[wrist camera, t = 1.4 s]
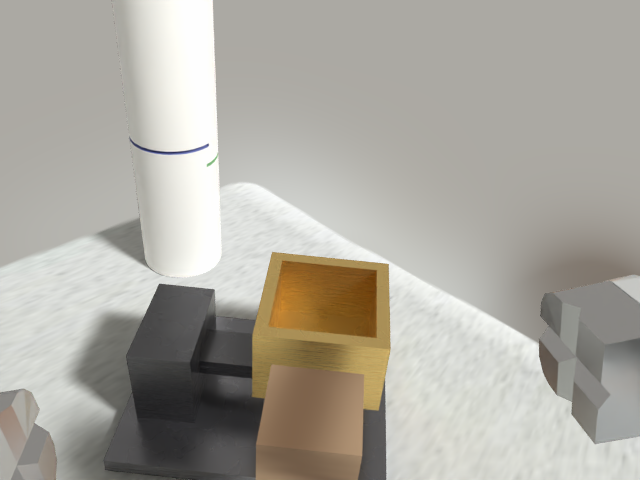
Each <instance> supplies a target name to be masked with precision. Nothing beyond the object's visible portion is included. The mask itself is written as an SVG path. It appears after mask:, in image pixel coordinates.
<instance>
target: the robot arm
mask: <svg viewBox="0 0 640 480" xmlns="http://www.w3.org/2000/svg"><path fill="white" fill-rule="evenodd" d="M540 316H541V317H542V319H543V320H544V321H545V322H546V323H547V324H548V325H549V326H548V328H547V329H546V330H545V332H544V333H543V335H542V336H541V337H540V339H539V357H540V362H541V366H542V370H543V373H544V375H545V377H546V379H547V381H548V383H549V385H550V386H551V388H552V389H553V391H554V392H555V393H556V395H558V396H560V397H562V398H565V399H567V400H569V401H571V402H572V413H571V414H572V415H573V417H574V418H575V419H576V421H577V422H578V423H579V424H580V426H581V427H582V428H583V430H584V431H585V432H586V433H587V435H588V436H589V437H590V438H591V440H592V441H593V442H594V444H599V443H605V442H610V441H616V440H622V439H627V438H633V437H639V436H640V276H636V275H630V276H625V277H621V278H616V279H612V280H608V281H604V282H600V283H596V284H591V285H586V286H581V287H576V288H571V289H566V290H561V291H556V292H551V293H546V294H544V297H543V299H542V302H541V314H540ZM38 412H39V407H38V405H37V403H36V401H35V399H34V397H33V395H32V393H31V392H29V391H27V390H25V389H19V390H13V391H7V392H1V393H0V480H56V466H57V458H56V453H55V448H54V444H53V441H52V439H51V436H50V434H49V432H48V431H46V430H45V429H43V428H41V427H40V426H38V425H36V424H35V423H34V422H35V420H36V417H37V415H38Z"/></svg>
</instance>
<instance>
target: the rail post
mask: <svg viewBox="0 0 640 480" xmlns="http://www.w3.org/2000/svg"><path fill="white" fill-rule="evenodd" d="M363 404H364V374H356V373H347V372H337V371H328V370H318V369H309V368H300V367H290V366H281V365H272V364H271V369H270V374H269V380H268V385H267V390H266V395H265V400H264V406H263V411H262V416H261V421H260V426H259V432H258V437H257V442H256V480H358V476H359V471H360V465H361V460H362V444H363Z"/></svg>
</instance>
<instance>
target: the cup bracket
mask: <svg viewBox="0 0 640 480" xmlns="http://www.w3.org/2000/svg"><path fill="white" fill-rule="evenodd" d="M389 354H390V307H389V264H383V263H374V262H364V261H354V260H344V259H335V258H325V257H315V256H305V255H295V254H286V253H276V252H272V255H271V259H270V263H269V268H268V272H267V276H266V280H265V284H264V289H263V293H262V297H261V301H260V305H259V310H258V314H257V318H256V320H248V319H238V318H229V317H219V316H216V309H215V290H214V289H205V288H195V287H186V286H176V285H166V284H159V286H158V288H157V290H156V292H155V294H154V296H153V299H152V301H151V303H150V305H149V307H148V309H147V312H146V314H145V316H144V318H143V320H142V323H141V325H140V327H139V329H138V331H137V333H136V336H135V338H134V340H133V342H132V344H131V346H130V349H129V351H128V353H127V355H126V358H127V364H128V369H129V375H130V381H131V386H132V394H131V396H130V398H129V401H128V403H127V406H126V408H125V410H124V413H123V415H122V417H121V420H120V422H119V425H118V427H117V429H116V432H115V434H114V436H113V439H112V441H111V444H110V446H109V448H108V451H107V453H106V455H105V458H104V460H103V461H104V465H105V470H112V471H121V472H130V473H139V474H148V475H157V476H166V477H175V478H184V479H193V480H256V442H257V437H258V432H259V426H260V421H261V416H262V411H263V406H264V400H265V395H266V390H267V385H268V380H269V374H270V369H271V364H272V365H281V366H290V367H300V368H309V369H318V370H328V371H337V372H347V373H356V374H364V404H363V444H362V460H361V465H360V471H359V476H358V480H386V420H385V375H386V370H387V365H388V360H389Z"/></svg>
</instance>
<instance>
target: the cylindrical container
mask: <svg viewBox="0 0 640 480" xmlns="http://www.w3.org/2000/svg"><path fill="white" fill-rule="evenodd" d="M112 8H113V15H114V24H115V31H116V39H117V47H118V54H119V62H120V70H121V77H122V85H123V93H124V100H125V108H126V115H127V123H128V131H129V138H130V146H131V153H132V161H133V169H134V177H135V184H136V192H137V200H138V208H139V216H140V223H141V231H142V238H143V246H144V254H145V260H146V263H147V265H148V266H149V267H150V268H151V269H152V270H153V271H155V272H156V273H159V274H161V275H164V276H168V277H176V278H184V277H192V276H196V275H200V274H202V273H205V272H207V271H209V270H210V269H212V268H213V267H214V266H215V265H216V264H217V263H218V262H219V260H220V258H221V223H220V193H219V164H218V136H217V110H216V80H215V54H214V25H213V0H112Z"/></svg>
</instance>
